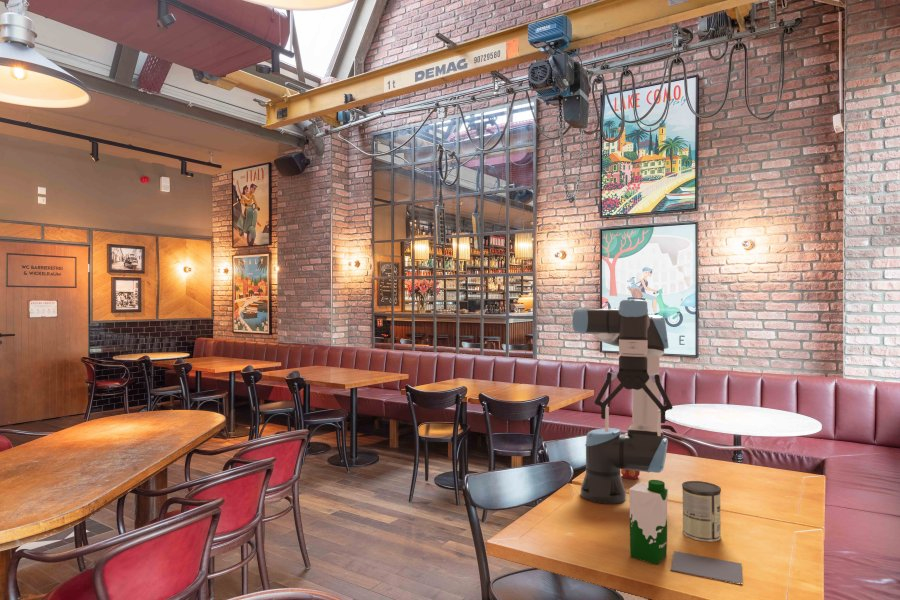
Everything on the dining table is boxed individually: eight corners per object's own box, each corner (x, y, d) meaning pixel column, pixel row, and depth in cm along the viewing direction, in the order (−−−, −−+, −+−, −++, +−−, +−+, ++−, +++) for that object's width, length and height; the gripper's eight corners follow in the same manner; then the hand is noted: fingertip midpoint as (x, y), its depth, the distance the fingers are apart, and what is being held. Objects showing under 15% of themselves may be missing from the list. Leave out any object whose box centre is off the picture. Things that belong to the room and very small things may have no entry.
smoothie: (642, 475, 218) (642, 424, 218) (640, 481, 210) (640, 428, 211) (620, 472, 221) (620, 422, 222) (617, 478, 214) (617, 426, 214)
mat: (670, 570, 139) (670, 569, 139) (674, 552, 149) (674, 550, 149) (742, 585, 131) (742, 584, 131) (741, 564, 142) (741, 563, 142)
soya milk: (659, 567, 140) (659, 488, 141) (625, 557, 146) (625, 480, 146) (671, 555, 147) (671, 480, 147) (637, 546, 153) (637, 473, 153)
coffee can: (680, 525, 167) (680, 479, 168) (718, 530, 164) (718, 482, 164) (683, 539, 158) (683, 489, 158) (723, 544, 154) (723, 493, 155)
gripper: (585, 354, 154) (584, 431, 152) (682, 357, 145) (682, 439, 144) (588, 353, 161) (587, 427, 159) (680, 356, 153) (680, 434, 151)
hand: (632, 433), depth 152 cm, fingers open, 13 cm apart
